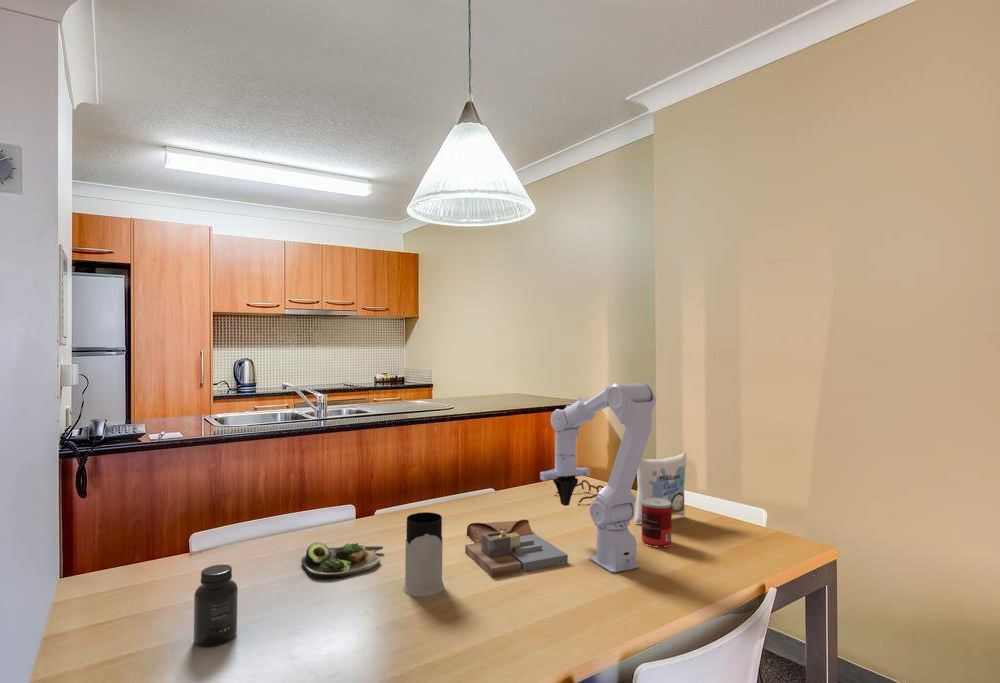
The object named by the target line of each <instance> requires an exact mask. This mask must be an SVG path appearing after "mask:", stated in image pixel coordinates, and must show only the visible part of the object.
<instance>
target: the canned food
mask: <svg viewBox="0 0 1000 683" xmlns="http://www.w3.org/2000/svg"><path fill="white" fill-rule="evenodd" d="M672 516H673V515H672V504H671V502H670V501H668V500H666V499H661V498H646V499H643V500H642V522H641V541H643V542H644V543H645V544H648V545H651V546H658V547H664V546H668V545H670V546H671V544H672V523H673V522H672V520H673V519H672V518H673V517H672ZM643 542H642V543H643ZM644 543H643V544H644ZM645 544H644V545H645ZM668 547H669V546H668Z"/></svg>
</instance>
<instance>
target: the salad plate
mask: <svg viewBox="0 0 1000 683" xmlns="http://www.w3.org/2000/svg"><path fill="white" fill-rule="evenodd" d="M365 545H366V543H363V544H362V545H361V544H359V543H358V542H356V543H354V542H353V543H345V545H339V546H336V547H328V546H327V544H325V543H322V542H313V543H310V545H309V546H308V547H307V549H306V550H305V554H304V555H303V556H302V557H301V559H300V561H301V562H300V563H301V565H302V568H303V570H304V571H305V573H306V574H307V573H308V574H307V575H308V576H309V575H310V577H311V576H312V578H314V579H317V578H318V579H319V580H334V578H335V579H340V578H344V577H347V576H351V575H356V574H359V573H362V572H366V571H367V570H368V571H369V570H370V569H373V568H374V567H376V566H377V565H378V564H379V563H380V562H381V558H380V557H379V556H378V555H377V554H375V553H376V552H378V551H381V550H383V549H384V546H382V545H380V546H379V545H377V546H374V545H373V546H365ZM363 562H364V563H363ZM360 563H363V564H365V565H364V567H360V568H357V569H352V570H350V568H351V567H352V566H353V565H358V564H360ZM321 572H322V573H321ZM318 579H317V580H318Z"/></svg>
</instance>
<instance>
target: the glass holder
mask: <svg viewBox="0 0 1000 683" xmlns="http://www.w3.org/2000/svg"><path fill="white" fill-rule="evenodd" d="M442 527H443V516H442V515H441V514H438V513H435V512H424V511H423V512H416V513H412V514H410V515H408V516H407V517H406V539H405V557H404V558H405V559H404V560H405V564H404V566H405V571H404V573H405V574H404V575H405V577H404V578H405V580H404V584H403V587H402V591H403V592H404V593H405V594H406V595H408V596H410V597H417V598H427V597H432V596H435V595H438V594H440V593H442V591H444V589H445V585H444V582H443V535H442V533H443V532H442V530H443V528H442Z"/></svg>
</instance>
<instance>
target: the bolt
mask: <svg viewBox="0 0 1000 683" xmlns="http://www.w3.org/2000/svg"><path fill="white" fill-rule="evenodd" d="M506 536H509V537H511V549H510V552H512V551H515V548H520V535H519V534H517V533H516V532H515V533H508V534H506V531H505V530H501V531H500V535H495V536H490V537H491V538H492V539H493V538H499V537H506Z"/></svg>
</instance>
